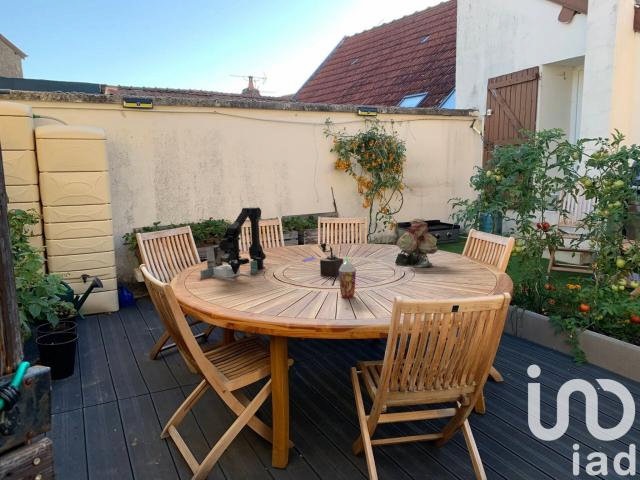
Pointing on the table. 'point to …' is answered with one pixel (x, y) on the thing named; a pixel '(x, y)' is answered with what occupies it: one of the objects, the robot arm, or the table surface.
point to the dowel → (253, 267)
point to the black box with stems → (330, 264)
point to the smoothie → (347, 279)
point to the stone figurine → (416, 245)
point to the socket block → (225, 271)
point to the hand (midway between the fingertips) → (235, 274)
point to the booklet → (309, 259)
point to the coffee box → (214, 256)
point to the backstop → (209, 273)
